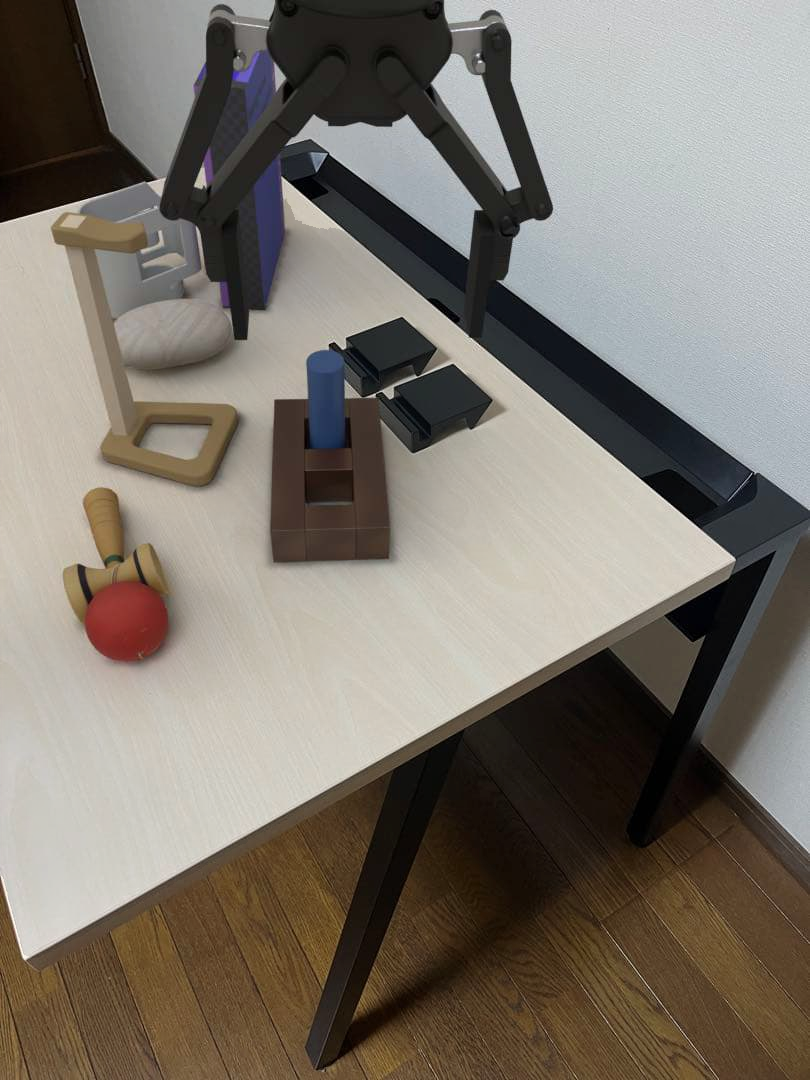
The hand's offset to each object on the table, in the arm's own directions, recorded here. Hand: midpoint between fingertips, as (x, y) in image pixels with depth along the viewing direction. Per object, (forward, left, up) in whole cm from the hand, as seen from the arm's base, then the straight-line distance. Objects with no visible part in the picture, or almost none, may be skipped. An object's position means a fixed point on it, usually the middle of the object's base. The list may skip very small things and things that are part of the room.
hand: (358, 326), depth 52 cm
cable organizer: (-21, +44, -27) cm, 56 cm away
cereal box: (-10, +51, -27) cm, 59 cm away
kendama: (-19, +2, -27) cm, 33 cm away
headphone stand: (-17, +20, -27) cm, 38 cm away
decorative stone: (-18, +34, -27) cm, 47 cm away
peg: (-2, +16, -27) cm, 31 cm away
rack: (-2, +13, -27) cm, 30 cm away
